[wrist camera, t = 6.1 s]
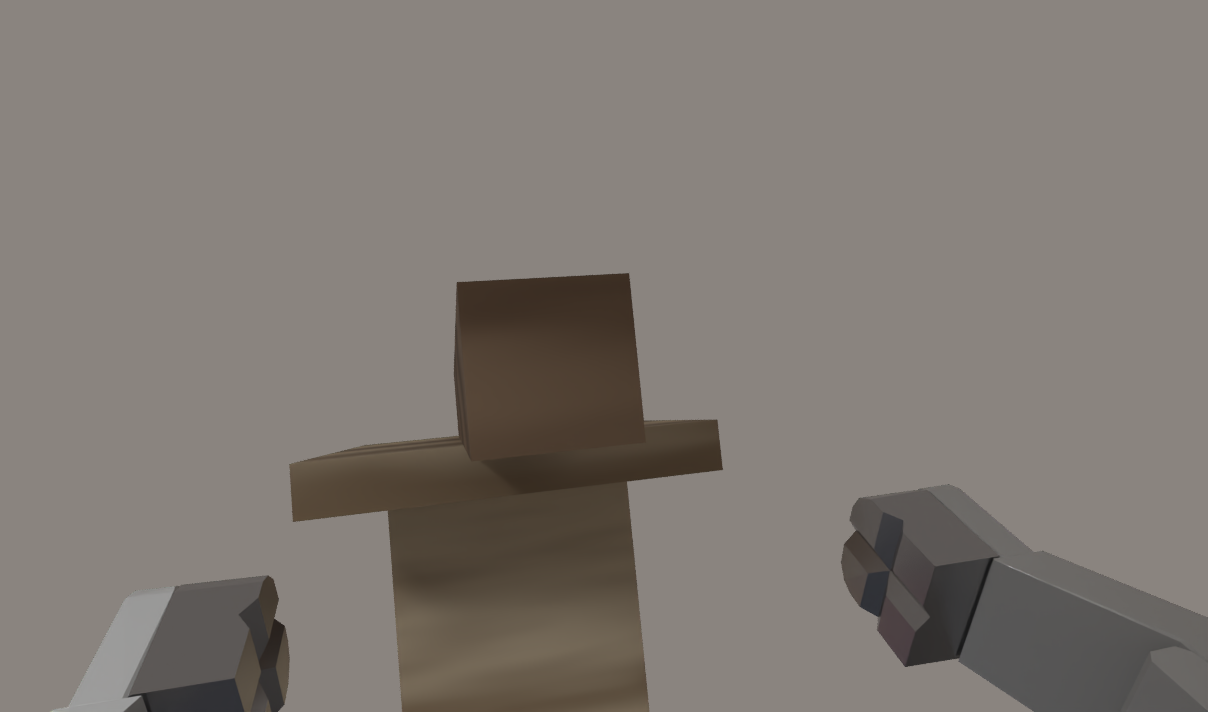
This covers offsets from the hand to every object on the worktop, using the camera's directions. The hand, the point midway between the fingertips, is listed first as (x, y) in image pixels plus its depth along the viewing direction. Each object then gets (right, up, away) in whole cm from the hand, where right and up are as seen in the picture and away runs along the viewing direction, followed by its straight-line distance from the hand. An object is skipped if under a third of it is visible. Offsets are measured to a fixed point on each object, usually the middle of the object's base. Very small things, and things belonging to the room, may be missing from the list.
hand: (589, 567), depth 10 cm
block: (-3, 0, +13) cm, 13 cm away
